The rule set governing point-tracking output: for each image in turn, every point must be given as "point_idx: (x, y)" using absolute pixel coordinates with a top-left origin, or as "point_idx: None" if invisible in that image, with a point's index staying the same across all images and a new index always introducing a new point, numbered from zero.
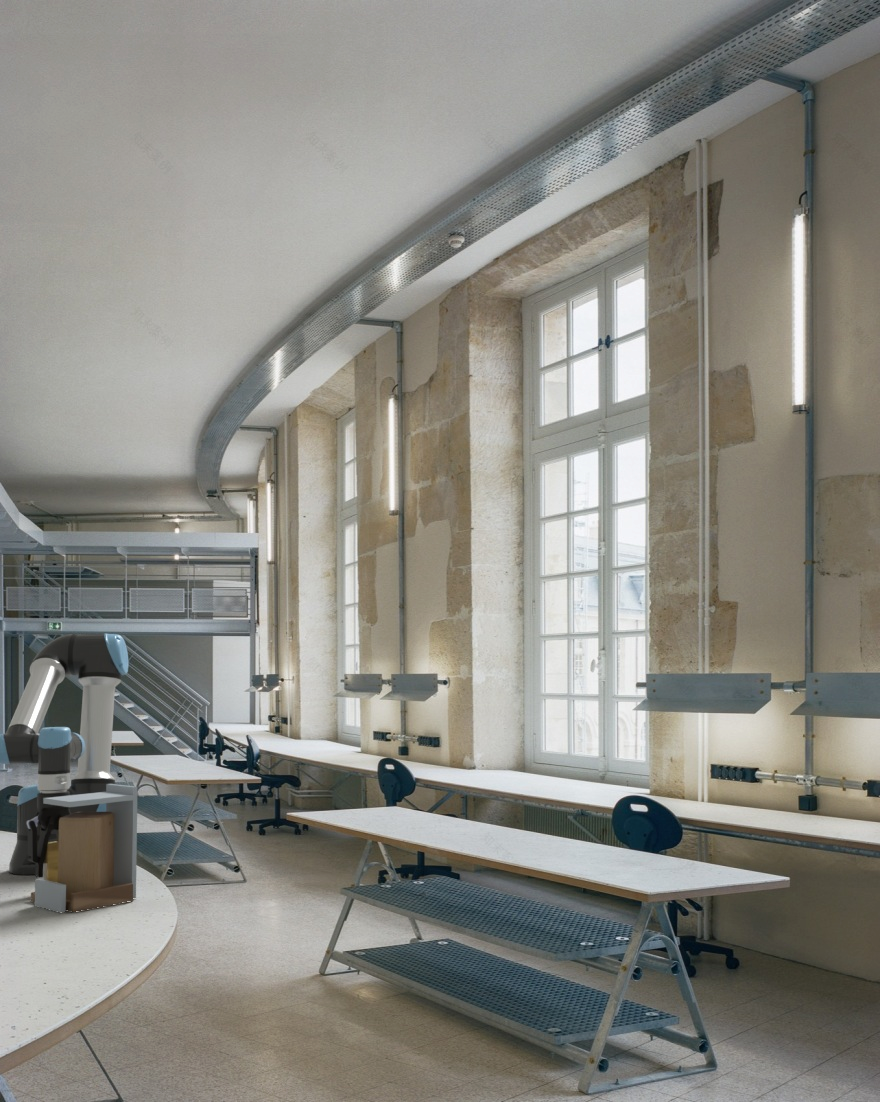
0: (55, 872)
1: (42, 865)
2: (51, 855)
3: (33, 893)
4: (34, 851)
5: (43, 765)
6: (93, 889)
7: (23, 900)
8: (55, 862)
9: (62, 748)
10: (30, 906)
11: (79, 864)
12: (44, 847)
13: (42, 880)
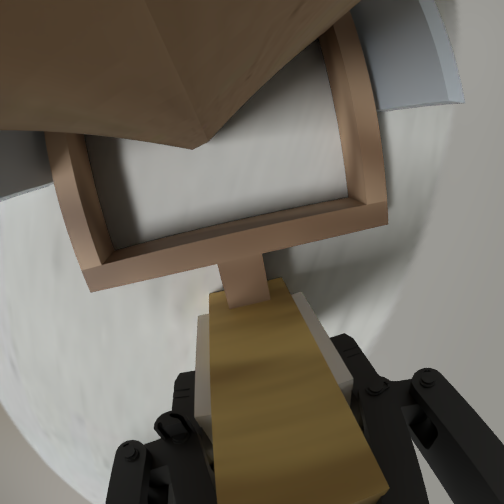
0: (264, 347)
1: (353, 379)
2: (329, 425)
3: (386, 199)
4: (462, 412)
5: None
6: None
7: (378, 253)
8: (278, 392)
9: None
10: (397, 119)
11: None
12: (401, 468)
13: (443, 37)
